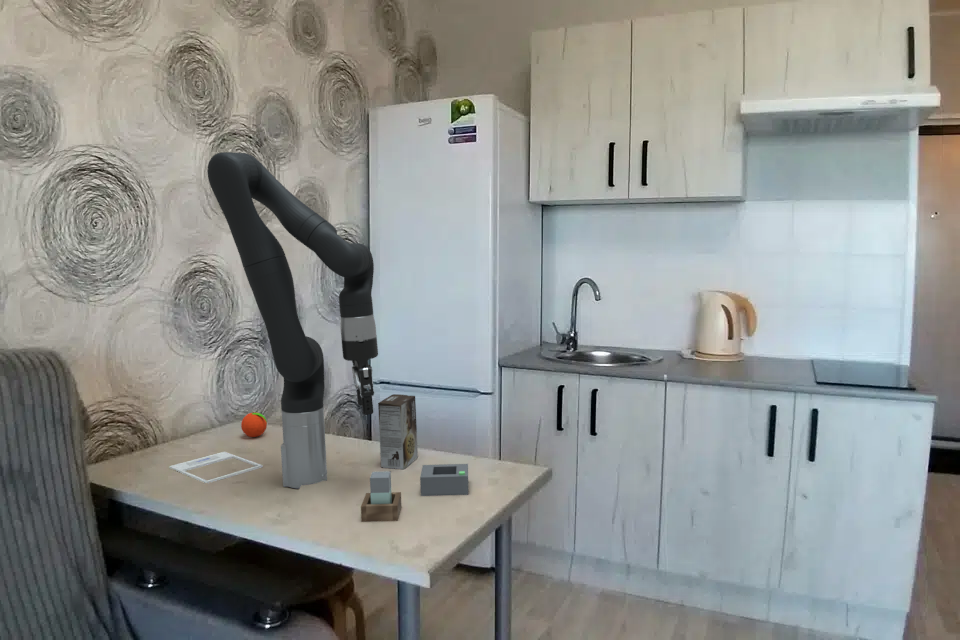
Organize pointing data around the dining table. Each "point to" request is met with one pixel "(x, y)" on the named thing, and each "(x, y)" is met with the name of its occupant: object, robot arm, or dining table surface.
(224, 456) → the photo frame
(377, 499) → the plug
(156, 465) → the dining table surface
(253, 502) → the dining table surface
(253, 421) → the clementine
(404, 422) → the coffee box
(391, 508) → the wooden box
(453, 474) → the port
